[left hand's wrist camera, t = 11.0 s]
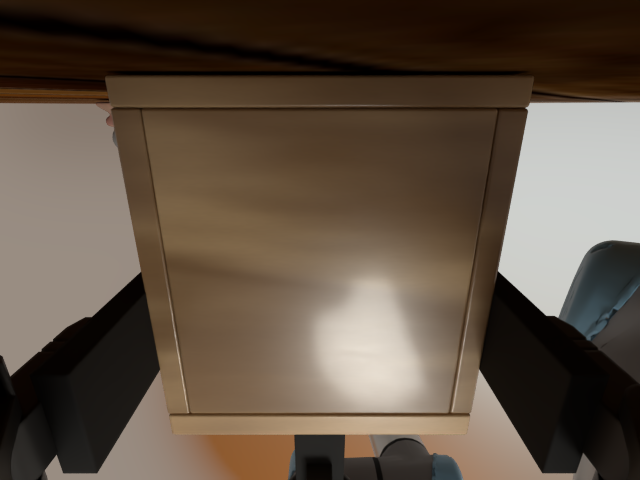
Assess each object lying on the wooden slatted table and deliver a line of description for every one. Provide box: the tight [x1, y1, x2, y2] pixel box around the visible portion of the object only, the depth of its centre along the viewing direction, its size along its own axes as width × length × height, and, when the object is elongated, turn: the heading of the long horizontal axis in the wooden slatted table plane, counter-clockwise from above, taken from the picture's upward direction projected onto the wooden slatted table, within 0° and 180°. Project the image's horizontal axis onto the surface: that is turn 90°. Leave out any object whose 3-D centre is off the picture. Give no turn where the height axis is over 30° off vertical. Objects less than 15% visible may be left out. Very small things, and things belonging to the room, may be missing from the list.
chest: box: [105, 75, 534, 413], centre depth 17 cm, size 15×10×10 cm, turn 0°
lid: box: [169, 411, 470, 435], centre depth 21 cm, size 16×10×8 cm, turn 0°
